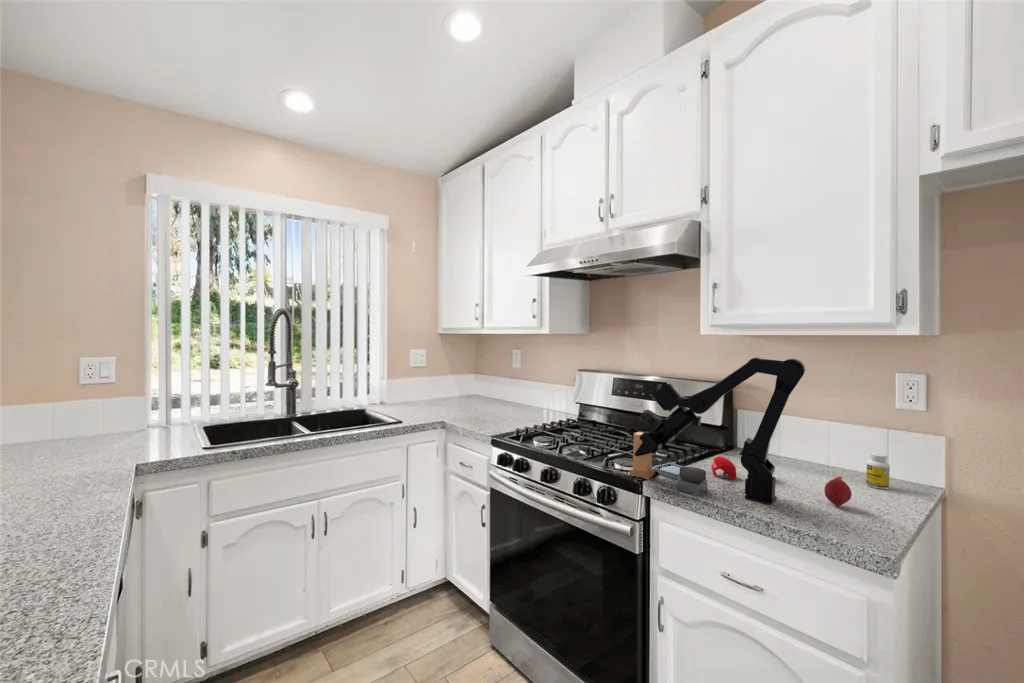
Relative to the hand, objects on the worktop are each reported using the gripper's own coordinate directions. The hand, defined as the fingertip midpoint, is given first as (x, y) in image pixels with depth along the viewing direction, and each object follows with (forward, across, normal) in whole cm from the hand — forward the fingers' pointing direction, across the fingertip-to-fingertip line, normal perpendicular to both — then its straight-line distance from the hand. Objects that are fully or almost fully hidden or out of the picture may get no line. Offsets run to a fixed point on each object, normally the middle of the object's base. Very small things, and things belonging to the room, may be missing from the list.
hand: (638, 453), depth 146 cm
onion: (-32, -6, +41) cm, 52 cm away
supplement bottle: (-39, -33, +49) cm, 70 cm away
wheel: (-8, +5, +17) cm, 19 cm away
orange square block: (+4, 0, +6) cm, 7 cm away
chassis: (-2, -8, +11) cm, 14 cm away
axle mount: (-8, +5, +17) cm, 19 cm away
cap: (-11, -15, +21) cm, 28 cm away
